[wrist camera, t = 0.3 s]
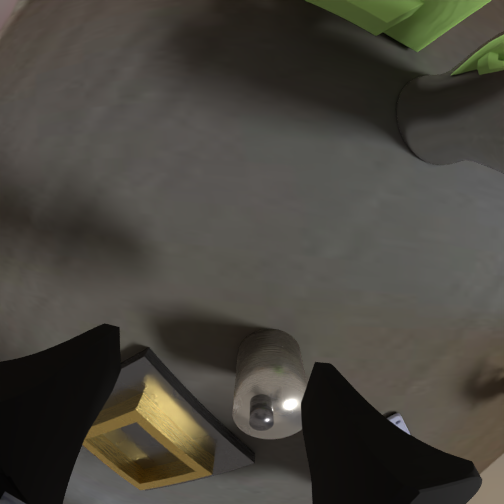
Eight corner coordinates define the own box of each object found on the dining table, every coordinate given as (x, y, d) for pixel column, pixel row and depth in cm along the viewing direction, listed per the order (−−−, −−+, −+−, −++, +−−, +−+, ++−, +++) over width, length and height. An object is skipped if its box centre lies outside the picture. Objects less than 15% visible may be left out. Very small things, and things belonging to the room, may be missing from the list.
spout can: (311, 362, 22) (330, 439, 15) (259, 388, 23) (260, 467, 15) (280, 317, 21) (290, 393, 14) (225, 347, 22) (213, 426, 14)
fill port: (254, 453, 25) (254, 480, 22) (147, 482, 27) (141, 503, 24) (149, 347, 22) (135, 373, 19) (53, 399, 24) (38, 419, 21)
